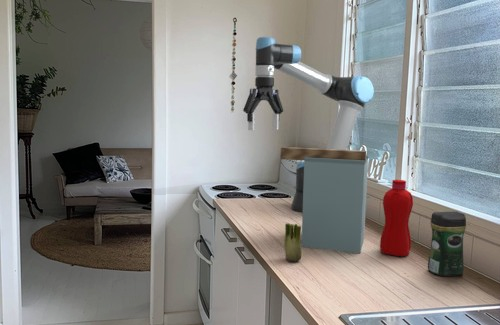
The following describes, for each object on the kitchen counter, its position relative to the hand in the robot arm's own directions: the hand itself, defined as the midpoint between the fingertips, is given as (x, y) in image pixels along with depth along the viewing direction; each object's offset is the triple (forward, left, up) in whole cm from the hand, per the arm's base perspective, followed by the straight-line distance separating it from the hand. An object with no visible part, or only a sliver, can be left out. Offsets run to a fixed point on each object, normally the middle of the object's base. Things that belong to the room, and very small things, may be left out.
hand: (263, 129), depth 190 cm
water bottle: (-9, +57, -39) cm, 70 cm away
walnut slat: (+5, +35, -9) cm, 37 cm away
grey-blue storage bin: (-1, +37, -39) cm, 54 cm away
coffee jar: (-3, +77, -39) cm, 86 cm away
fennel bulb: (+25, +41, -39) cm, 62 cm away
